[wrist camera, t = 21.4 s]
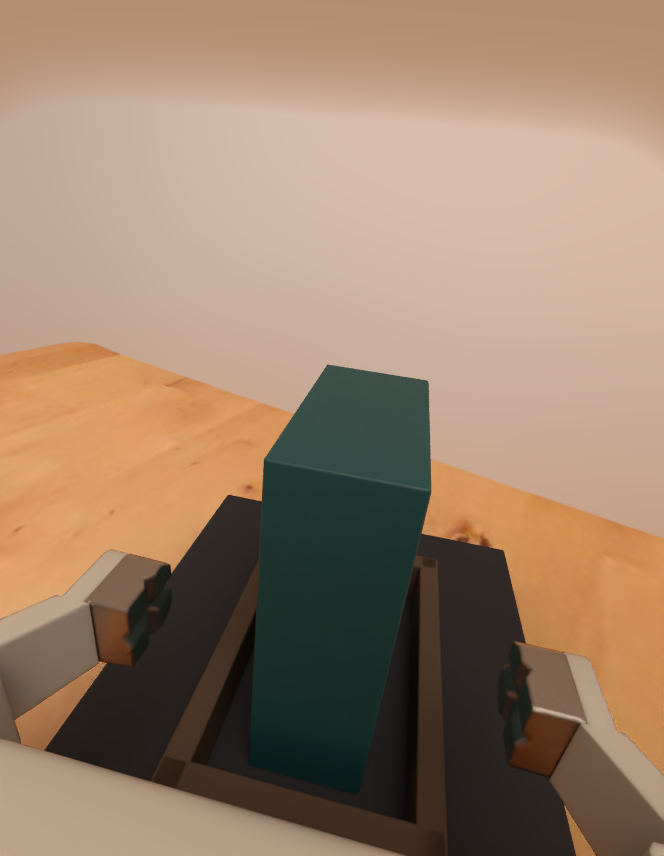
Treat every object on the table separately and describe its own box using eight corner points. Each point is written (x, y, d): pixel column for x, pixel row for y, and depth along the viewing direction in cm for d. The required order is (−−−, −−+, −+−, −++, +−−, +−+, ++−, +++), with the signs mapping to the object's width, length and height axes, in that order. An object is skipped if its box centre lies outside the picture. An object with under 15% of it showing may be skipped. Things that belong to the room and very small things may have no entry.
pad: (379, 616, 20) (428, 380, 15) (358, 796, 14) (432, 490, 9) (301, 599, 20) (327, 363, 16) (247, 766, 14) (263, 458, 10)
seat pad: (494, 577, 26) (514, 520, 24) (647, 1362, 8) (761, 1357, 6) (227, 521, 28) (228, 464, 26) (-125, 1057, 10) (-195, 989, 8)
